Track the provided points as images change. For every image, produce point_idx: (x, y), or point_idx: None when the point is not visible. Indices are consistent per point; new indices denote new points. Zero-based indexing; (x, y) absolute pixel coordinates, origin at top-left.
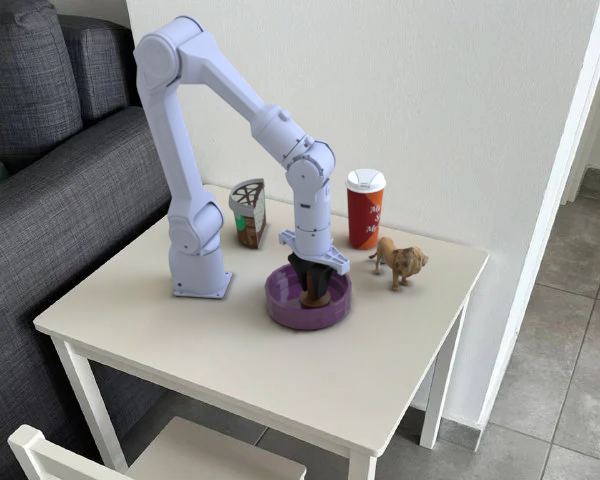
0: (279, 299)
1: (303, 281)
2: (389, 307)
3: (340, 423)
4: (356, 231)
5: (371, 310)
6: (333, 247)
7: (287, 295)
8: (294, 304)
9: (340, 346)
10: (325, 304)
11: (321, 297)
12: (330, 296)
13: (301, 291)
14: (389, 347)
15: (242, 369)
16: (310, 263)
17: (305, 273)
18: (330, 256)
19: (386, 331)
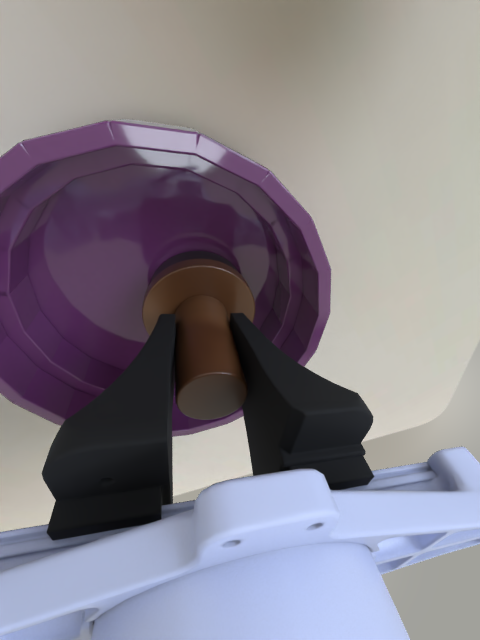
0: (84, 336)
1: (173, 386)
2: (408, 114)
3: (389, 425)
4: None
5: (352, 177)
6: (389, 535)
7: (82, 310)
8: (140, 323)
9: (330, 341)
10: (253, 317)
11: (226, 310)
12: (246, 285)
13: (95, 265)
14: (434, 279)
15: (213, 458)
16: (170, 412)
17: (171, 401)
18: (396, 553)
19: (418, 236)
